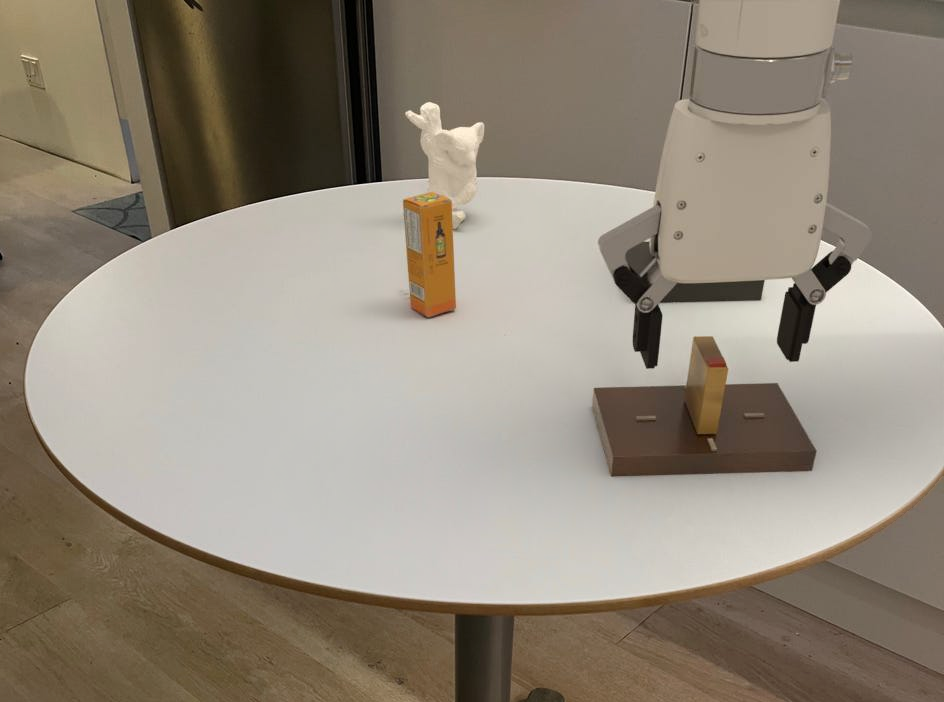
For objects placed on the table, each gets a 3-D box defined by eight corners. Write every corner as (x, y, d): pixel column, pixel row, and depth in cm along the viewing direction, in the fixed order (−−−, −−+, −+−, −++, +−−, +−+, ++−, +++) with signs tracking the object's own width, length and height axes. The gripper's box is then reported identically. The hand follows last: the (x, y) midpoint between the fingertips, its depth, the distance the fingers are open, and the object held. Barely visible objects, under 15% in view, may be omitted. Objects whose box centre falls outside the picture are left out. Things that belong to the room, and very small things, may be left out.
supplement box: (437, 298, 96) (433, 188, 90) (456, 311, 94) (455, 199, 87) (407, 307, 95) (401, 196, 88) (426, 319, 93) (422, 206, 86)
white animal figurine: (413, 236, 109) (408, 114, 101) (405, 215, 114) (400, 97, 106) (490, 230, 110) (491, 109, 102) (479, 209, 115) (479, 92, 107)
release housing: (735, 261, 103) (742, 220, 100) (760, 301, 95) (769, 258, 93) (618, 263, 102) (621, 223, 100) (634, 304, 95) (638, 261, 92)
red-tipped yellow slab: (683, 400, 74) (693, 332, 71) (702, 400, 74) (713, 332, 71) (697, 434, 71) (708, 365, 67) (717, 434, 71) (729, 364, 67)
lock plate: (770, 418, 79) (778, 380, 76) (807, 488, 71) (817, 449, 69) (590, 422, 78) (593, 385, 76) (609, 494, 71) (613, 454, 69)
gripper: (883, 58, 61) (825, 327, 73) (598, 71, 61) (585, 338, 72) (931, 90, 56) (860, 376, 67) (617, 104, 55) (599, 388, 67)
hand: (717, 356), depth 70 cm, fingers open, 9 cm apart
